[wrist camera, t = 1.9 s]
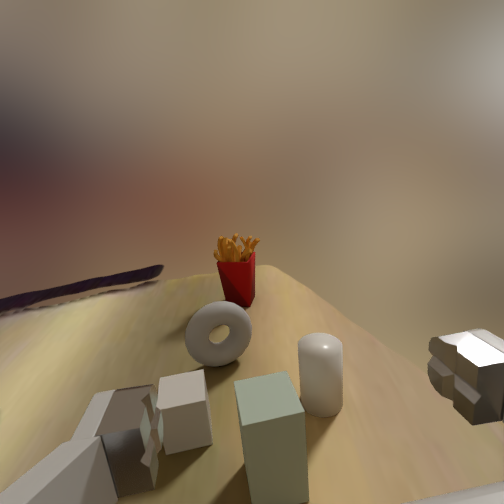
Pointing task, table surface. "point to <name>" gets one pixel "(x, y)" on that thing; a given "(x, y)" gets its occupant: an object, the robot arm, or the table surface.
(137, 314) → the table surface
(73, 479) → the robot arm
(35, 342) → the table surface
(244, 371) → the table surface
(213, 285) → the table surface
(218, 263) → the french fries
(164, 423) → the grey cube
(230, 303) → the donut
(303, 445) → the sage block
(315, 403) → the white canister
